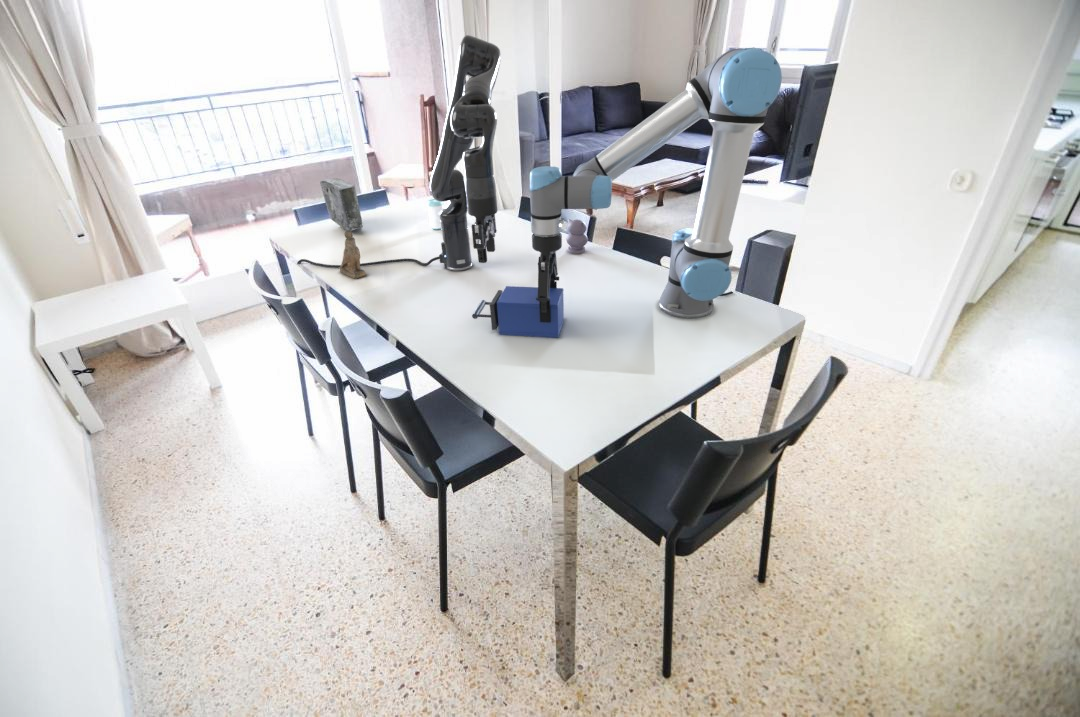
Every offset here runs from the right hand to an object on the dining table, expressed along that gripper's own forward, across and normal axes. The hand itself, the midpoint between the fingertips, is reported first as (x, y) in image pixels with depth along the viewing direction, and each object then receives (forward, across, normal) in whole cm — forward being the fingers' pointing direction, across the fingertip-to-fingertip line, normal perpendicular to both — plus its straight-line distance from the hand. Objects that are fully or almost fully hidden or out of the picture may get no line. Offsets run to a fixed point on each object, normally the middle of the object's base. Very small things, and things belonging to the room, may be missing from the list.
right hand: (548, 312), depth 136 cm
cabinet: (+5, 0, +5) cm, 7 cm away
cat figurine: (+5, +63, -1) cm, 63 cm away
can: (+5, +89, +65) cm, 110 cm away
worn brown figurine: (+5, +33, +77) cm, 84 cm away
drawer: (+4, 0, +10) cm, 11 cm away
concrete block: (+5, +85, +107) cm, 137 cm away
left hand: (-15, +2, +16) cm, 22 cm away
